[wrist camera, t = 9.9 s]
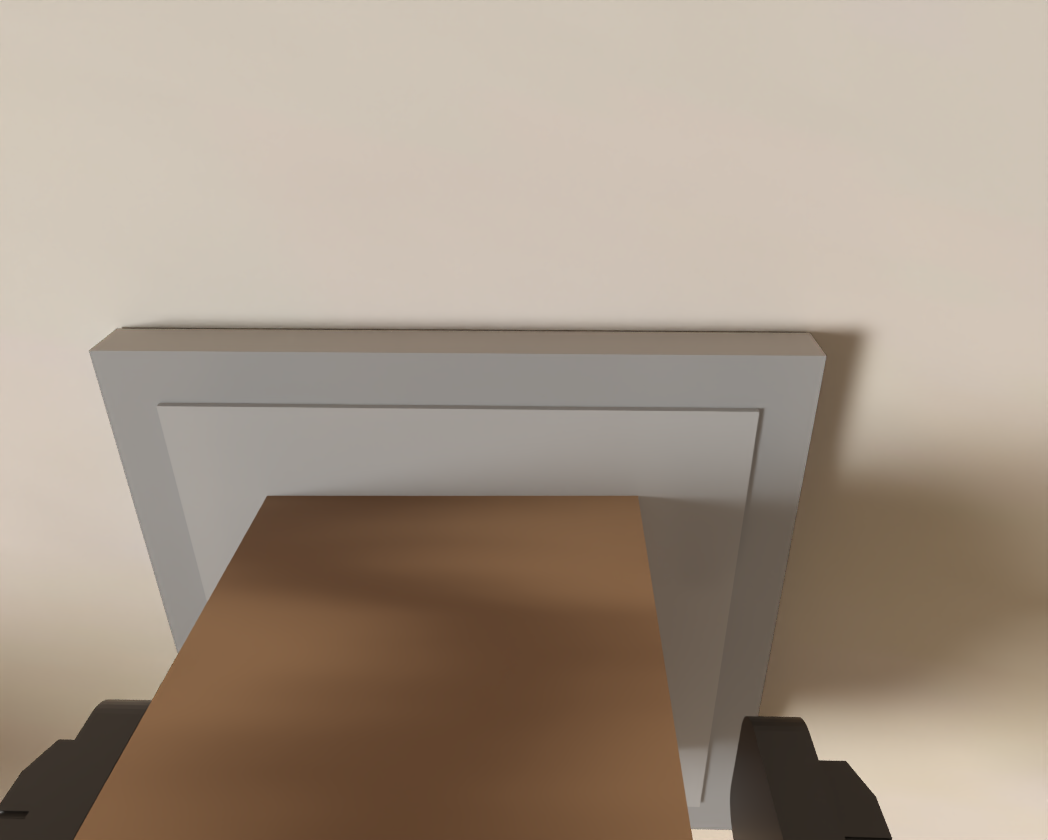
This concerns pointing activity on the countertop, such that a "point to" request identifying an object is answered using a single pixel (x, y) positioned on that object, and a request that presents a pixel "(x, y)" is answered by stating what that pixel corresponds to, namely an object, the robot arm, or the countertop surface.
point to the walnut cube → (414, 682)
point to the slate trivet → (494, 465)
